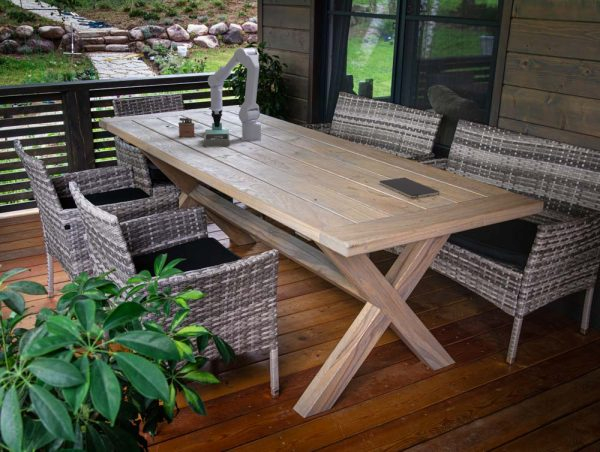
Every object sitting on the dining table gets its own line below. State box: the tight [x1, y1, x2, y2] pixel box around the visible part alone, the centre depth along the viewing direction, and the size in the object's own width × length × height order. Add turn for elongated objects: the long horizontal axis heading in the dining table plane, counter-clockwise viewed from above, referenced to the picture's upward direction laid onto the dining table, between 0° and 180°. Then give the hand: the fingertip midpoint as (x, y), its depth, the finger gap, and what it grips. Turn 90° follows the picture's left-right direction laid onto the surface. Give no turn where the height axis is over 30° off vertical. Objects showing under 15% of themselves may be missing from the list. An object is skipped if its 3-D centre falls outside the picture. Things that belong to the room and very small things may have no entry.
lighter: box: [178, 117, 196, 139], centre depth 319 cm, size 8×3×10 cm, turn 84°
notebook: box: [379, 177, 440, 198], centre depth 244 cm, size 13×2×21 cm
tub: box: [203, 133, 230, 147], centre depth 308 cm, size 12×14×4 cm
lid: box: [204, 122, 230, 135], centre depth 325 cm, size 12×14×5 cm
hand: (217, 125), depth 330 cm, fingers open, 7 cm apart
